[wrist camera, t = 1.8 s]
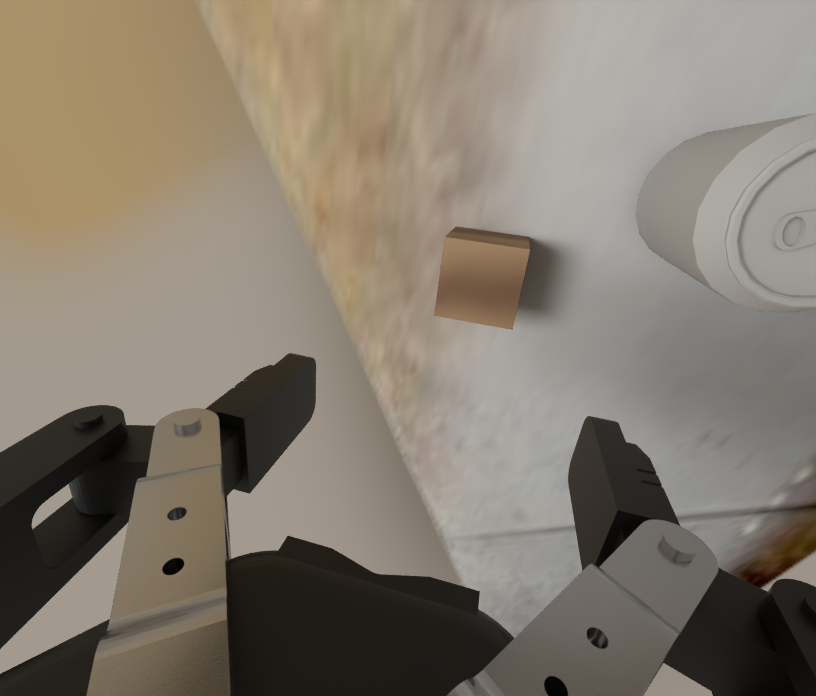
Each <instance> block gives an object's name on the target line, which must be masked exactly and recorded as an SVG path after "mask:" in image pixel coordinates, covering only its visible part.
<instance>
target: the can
mask: <svg viewBox="0 0 816 696" xmlns="http://www.w3.org/2000/svg"><path fill="white" fill-rule="evenodd" d="M636 219H637V224H638V228H639V233H640V235H641V237H642V238H643V240H644V241H645V243H646V244H647V246H648V247H649V249H650V250H652V251H653V252H655V253H656V254H657V255H659V256H660V257H662V258H663V259H665V260H666V261H668V262H669V263H671V264H672V265H674V266H676V267H677V268H679V269H680V270H682V271H683V272H685V273H687V274H688V275H690V276H691V277H693V278H694V279H696V280H698V281H699V282H701V283H702V284H704V285H705V286H707V287H709V288H710V289H712V290H713V291H715V292H716V293H718V294H720V295H721V296H723V297H724V298H726V299H727V300H729V301H731V302H732V303H734V304H737V305H741V306H744V307H748V308H751V309H754V310H758V311H761V312H797V311H801V310H806V309H810V308H816V113H814V114H808V115H803V116H797V117H792V118H786V119H780V120H775V121H769V122H764V123H758V124H752V125H747V126H741V127H736V128H730V129H724V130H719V131H713V132H708V133H705V134H703V135H700V136H697V137H695V138H692V139H689V140H687V141H684V142H683V143H681V144H680V145H679V146H677V147H676V148H674V149H673V150H672V151H670V152H669V153H667V154H666V155H665V156H663V158H662V159H661V160H660V161H659V162H658V163H657V165H656V166H655V167H654V168H653V169H652V171H651V172H650V173H649V174H648V176H647V178H646V180H645V182H644V184H643V186H642V189H641V191H640V193H639V195H638V203H637V210H636Z"/></svg>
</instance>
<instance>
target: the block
mask: <svg viewBox="0 0 816 696" xmlns="http://www.w3.org/2000/svg"><path fill="white" fill-rule="evenodd" d="M529 253H530V244H529V237H526V236H519V235H512V234H505V233H498V232H491V231H483V230H476V229H469V228H462V227H455V228H454V229H453V230H452V231H451V232H450V233H449V234H448V235H447V236H446V237H445V241H444V248H443V256H442V263H441V270H440V277H439V285H438V292H437V299H436V306H435V314H434V316H440V317H445V318H451V319H456V320H462V321H467V322H473V323H478V324H484V325H489V326H495V327H501V328H506V329H513V325H514V320H515V316H516V311H517V307H518V302H519V298H520V293H521V289H522V285H523V280H524V276H525V271H526V267H527V262H528V258H529Z"/></svg>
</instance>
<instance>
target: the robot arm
mask: <svg viewBox="0 0 816 696" xmlns="http://www.w3.org/2000/svg"><path fill="white" fill-rule="evenodd" d="M315 395H316V362H315V359H314V358H311V357H306V356H301V355H297V354H292V353H290V354H288V355H286V356H285V357H284V358H283V359H281V360H280V361H279V362H278V363H276V364H275V365H274V366H273V365H269V366H266V367H263V368H261V369H259V370H256V371H254V372H253V373H251V374H250V375H249V376H248V377H246V378H245V379H244V381H241V382H240V383H238V384H237V385H236V386H235V388H232V389H231V390H229V391H228V392H227V393H225V394H224V395H223V396H222V397H220V398H219V399H218V400H216V401H215V402H214V403H212V404H211V405H210V406H209V407H207V408H206V409H200V408H193V409H185V410H180V411H176V412H174V413H171V414H169V415H167V416H165V417H163V418H162V419H161V420H160V421H159V422H158V423H157V424H156V426H141V425H139V426H138V425H126V422H125V418H124V413H123V411H122V410H121V409H119V408H117V407H114V406H108V405H97V406H90V407H85V408H81V409H78V410H75V411H72V412H70V413H67V414H65V415H63V416H62V417H60V418H58V419H56V420H55V421H53V422H51V423H50V424H48V425H46V426H45V427H43V428H41V429H40V430H38V431H36V432H35V433H33V434H31V435H29V436H28V437H26V438H24V439H23V440H21V441H19V442H18V443H16V444H14V445H12V446H11V447H9V448H7V449H6V450H4V451H2V452H0V649H1V648H2V647H3V646H4V645H5V644H6V643H7V642H8V641H9V640H10V639H11V638H12V637H13V635H15V634H16V632H18V631H19V630H20V629H21V628H22V627H23V626H24V625H25V624H26V623H27V622H28V621H29V620H30V619H31V618H32V617H33V616H34V615H35V614H36V613H37V612H38V611H39V610H40V609H41V608H42V607H43V606H44V605H45V604H46V603H47V602H48V601H49V600H50V599H51V598H52V597H53V596H54V595H55V594H56V593H57V592H58V591H59V590H60V589H61V588H62V587H63V586H64V585H65V584H66V583H67V582H68V581H69V580H70V579H71V578H72V577H73V576H74V575H75V574H76V573H77V572H78V571H79V570H80V569H81V568H82V567H83V566H84V565H85V564H86V563H87V562H89V561H90V560H91V559H92V558H93V557H94V556H95V554H97V553H98V552H99V551H100V550H101V549H102V548H103V547H104V546H105V544H107V543H108V542H109V541H110V540H111V539H112V538H113V537H114V536H115V535H116V534H117V533H118V531H120V530H121V529H122V528H123V527H124V526H125V525H126V524H127V523H128V527H127V532H126V538H125V543H124V548H123V553H122V558H121V564H120V569H119V574H118V579H117V584H116V590H115V595H114V600H113V605H112V610H111V615H110V619H109V620H107V621H105V622H103V623H101V624H99V625H97V626H95V627H93V628H91V629H89V630H87V631H85V632H83V633H81V634H79V635H77V636H75V637H73V638H71V639H69V640H67V641H65V642H63V643H61V644H59V645H57V646H55V647H53V648H51V649H49V650H47V651H45V652H43V653H41V654H39V655H37V656H35V657H33V658H31V659H29V660H27V661H25V662H23V663H21V664H19V665H17V666H15V667H13V668H11V669H10V670H7V671H5V672H3V673H1V674H0V696H643V695H644V693H645V692H646V690H647V688H648V687H649V685H650V684H651V682H652V680H653V679H654V677H655V676H656V674H657V672H658V671H659V669H660V667H661V666H662V664H663V663H665V664H667V665H669V666H670V667H672V668H674V669H675V670H677V671H678V672H681V673H682V674H684V675H685V676H687V677H689V678H690V679H692V680H694V681H696V682H697V683H699V684H701V685H702V686H704V687H706V688H707V689H709V690H711V691H712V694H713V696H816V587H815V586H812V585H810V584H807V583H804V582H802V581H797V580H794V579H780V580H777V581H776V582H775V583H774V584H773V585H772V587H771V588H770V590H769V591H768V592H767V591H765V590H763V589H761V588H758V587H756V586H754V585H752V584H750V583H748V582H746V581H744V580H742V579H739V578H737V577H735V576H733V575H731V574H729V573H727V572H725V571H723V570H722V569H720V568H718V562H717V559H716V557H715V555H714V554H713V552H712V551H711V550H710V548H709V547H708V546H707V545H706V544H705V543H704V542H703V541H702V540H701V539H700V538H698V537H697V536H696V535H694V534H693V533H691V532H690V531H688V530H686V529H685V528H683V527H681V526H680V524H679V522H678V520H677V517H676V515H675V513H674V511H673V509H672V506H671V504H670V502H669V500H668V498H667V495H666V493H665V491H664V489H663V488H662V487H661V485H662V484H661V482H660V480H659V478H658V476H657V475H656V471H655V469H654V467H653V465H652V462H651V460H650V458H649V457H648V456H647V455H646V454H645V453H644V452H643V451H642V450H641V449H640V448H639V447H638V446H637V445H636V444H632V443H627V442H626V441H625V439H624V436H623V434H622V431H621V428H620V426H619V424H618V422H615V421H610V420H606V419H601V418H596V417H591V416H588V417H586V419H585V421H584V423H583V426H582V429H581V432H580V435H579V438H578V441H577V444H576V447H575V450H574V453H573V456H572V459H571V462H570V467H569V474H568V483H569V490H570V496H571V502H572V509H573V515H574V521H575V527H576V534H577V540H578V546H579V552H580V559H581V565H582V572H581V573H580V574H579V575H578V576H577V577H576V578H575V579H574V580H573V581H572V582H571V583H570V584H569V585H568V586H567V587H566V588H565V589H564V590H563V591H562V592H561V593H560V594H559V595H558V596H557V597H556V598H555V599H554V600H553V601H552V602H551V603H550V604H549V605H548V606H547V607H546V608H545V609H544V610H543V611H542V612H541V613H540V614H539V615H538V616H537V617H536V618H534V619H533V620H532V621H531V622H530V623H529V624H528V625H527V626H526V627H525V628H524V629H523V630H522V631H521V632H520V633H519V634H518V635H517V636H516V637H515V638H514V637H513V636H512V635H511V634H510V633H509V632H508V631H507V630H506V629H505V628H503V627H502V626H501V625H500V624H499V623H498V622H497V621H495V620H494V619H492V618H491V617H490V616H488V615H487V614H485V613H484V612H482V611H480V610H479V609H478V604H479V593H480V591H476V590H473V589H470V588H466V587H463V586H459V585H456V584H452V583H449V582H445V581H442V580H438V579H435V578H432V577H421V576H401V575H381V574H375V573H373V572H371V571H369V570H368V569H366V568H364V567H362V566H361V565H359V564H357V563H356V562H354V561H352V560H351V559H349V558H347V557H346V556H344V555H342V554H340V553H339V552H337V551H335V550H334V549H332V548H328V547H325V546H322V545H318V544H315V543H311V542H308V541H304V540H301V539H297V538H294V537H290V536H287V538H286V539H285V541H284V543H283V544H282V546H281V547H280V549H279V551H261V552H255V553H249V554H245V555H242V556H238V557H236V558H233V559H231V550H230V549H231V548H230V532H229V518H228V503H227V495H228V494H229V493H230V492H231V491H232V490H233V489H236V490H239V491H242V492H246V493H250V492H251V491H252V490H253V489H254V487H255V486H256V485H257V484H258V483H259V481H260V480H261V479H262V478H263V477H264V475H265V474H266V473H267V472H268V471H269V469H270V468H271V467H272V466H273V465H274V463H275V462H276V461H277V460H278V459H279V457H280V456H281V455H282V454H283V452H284V451H285V450H286V449H287V447H288V446H289V445H290V444H291V443H292V442H293V440H294V439H295V438H296V437H297V435H298V434H299V433H300V432H301V431H302V429H303V428H304V427H305V426H306V425H307V423H308V422H309V421H310V419H311V417H312V415H313V412H314V408H315V401H316V396H315ZM67 484H69V487H70V490H71V494H72V497H73V498H71V500H69V501H68V502H67V503H65V504H64V505H63V506H61V507H60V508H59V509H58V510H56V511H55V512H54V513H53V514H52V515H50V516H49V517H48V518H46V519H45V520H44V521H43V522H42V523H40V524H39V525H38V526H36V527H35V528H34V529H33V530H32V525H31V524H32V519H33V516H34V514H35V512H36V511H37V509H38V508H39V507H40V506H41V505H42V503H44V502H45V501H46V500H48V499H49V498H50V497H51V496H53V495H54V494H55V493H57V492H58V491H59V490H60V489H62V488H63V487H65V486H66V485H67Z"/></svg>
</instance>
